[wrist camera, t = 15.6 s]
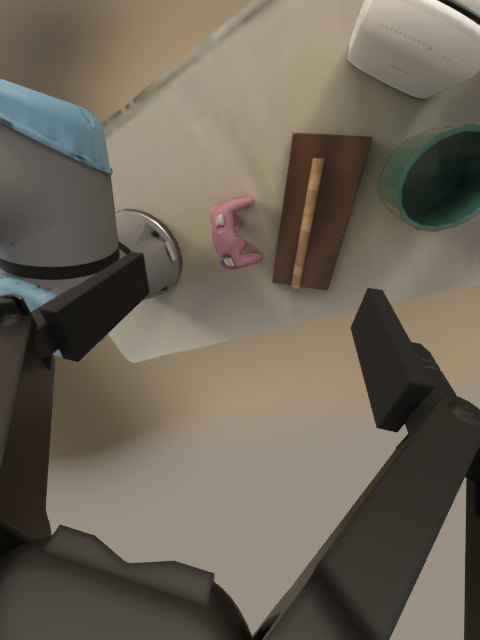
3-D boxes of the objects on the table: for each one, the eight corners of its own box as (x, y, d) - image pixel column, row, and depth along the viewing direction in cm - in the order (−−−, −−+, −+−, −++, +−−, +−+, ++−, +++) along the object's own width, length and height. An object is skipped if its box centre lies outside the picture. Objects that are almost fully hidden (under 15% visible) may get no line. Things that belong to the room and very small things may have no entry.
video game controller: (232, 196, 37) (199, 207, 33) (256, 193, 35) (223, 205, 30) (243, 258, 43) (216, 275, 39) (265, 260, 40) (238, 278, 36)
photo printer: (338, 63, 26) (357, 12, 16) (365, 3, 24) (406, -100, 14) (422, 107, 27) (490, 83, 17) (457, 53, 24) (562, -12, 14)
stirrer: (345, 223, 40) (291, 288, 41) (315, 151, 30) (247, 239, 31) (352, 225, 39) (297, 292, 40) (324, 152, 29) (253, 242, 30)
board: (273, 279, 42) (272, 282, 41) (293, 133, 30) (293, 132, 30) (327, 287, 41) (327, 290, 40) (370, 137, 29) (372, 136, 28)
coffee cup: (368, 211, 33) (382, 226, 27) (396, 127, 28) (421, 122, 22) (441, 218, 32) (473, 235, 26) (485, 131, 27) (537, 127, 21)
